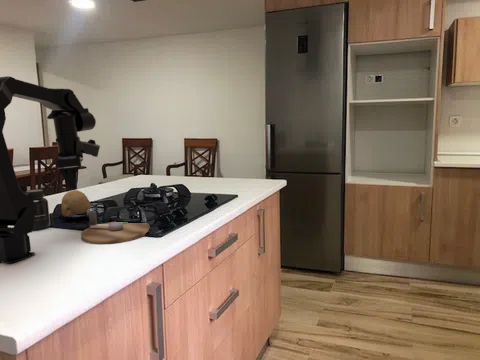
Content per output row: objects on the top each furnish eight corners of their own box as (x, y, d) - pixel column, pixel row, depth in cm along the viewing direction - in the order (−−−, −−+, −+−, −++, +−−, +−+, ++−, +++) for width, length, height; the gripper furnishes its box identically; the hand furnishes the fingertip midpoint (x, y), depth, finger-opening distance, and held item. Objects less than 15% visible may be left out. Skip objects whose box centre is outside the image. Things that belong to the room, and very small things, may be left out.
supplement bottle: (40, 231, 116) (35, 192, 114) (21, 230, 117) (16, 192, 115) (55, 225, 122) (51, 188, 120) (37, 224, 124) (32, 188, 122)
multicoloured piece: (125, 226, 112) (124, 210, 111) (118, 230, 108) (117, 214, 107) (94, 225, 114) (93, 210, 113) (86, 229, 110) (85, 213, 109)
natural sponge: (95, 215, 133) (93, 187, 132) (85, 222, 125) (82, 192, 123) (70, 216, 134) (67, 188, 132) (58, 223, 125) (54, 193, 123)
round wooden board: (121, 246, 98) (120, 241, 98) (66, 240, 105) (65, 235, 105) (162, 226, 116) (162, 222, 115) (112, 222, 123) (112, 218, 123)
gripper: (96, 133, 104) (103, 189, 107) (96, 129, 121) (102, 177, 124) (51, 137, 100) (60, 194, 104) (58, 132, 117) (66, 181, 121)
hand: (74, 186), depth 113 cm, fingers open, 9 cm apart
